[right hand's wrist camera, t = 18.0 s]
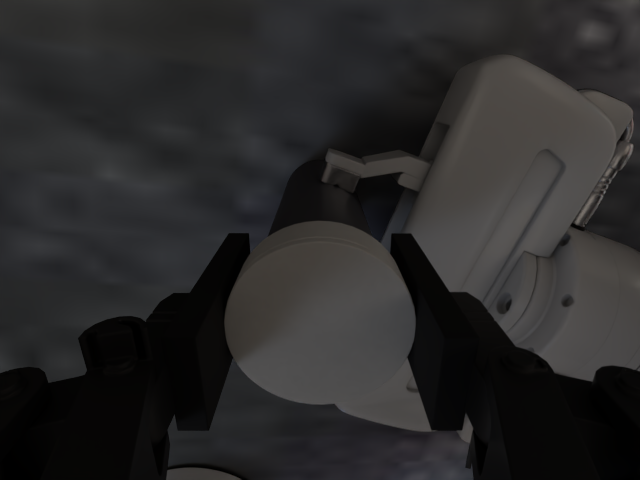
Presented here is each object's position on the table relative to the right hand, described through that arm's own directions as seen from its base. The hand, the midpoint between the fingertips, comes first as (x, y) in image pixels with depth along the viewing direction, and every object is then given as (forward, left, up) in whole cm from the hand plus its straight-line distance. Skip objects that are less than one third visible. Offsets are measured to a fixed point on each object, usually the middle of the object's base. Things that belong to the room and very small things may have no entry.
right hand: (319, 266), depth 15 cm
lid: (0, 0, +4) cm, 4 cm away
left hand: (0, -1, -5) cm, 5 cm away
